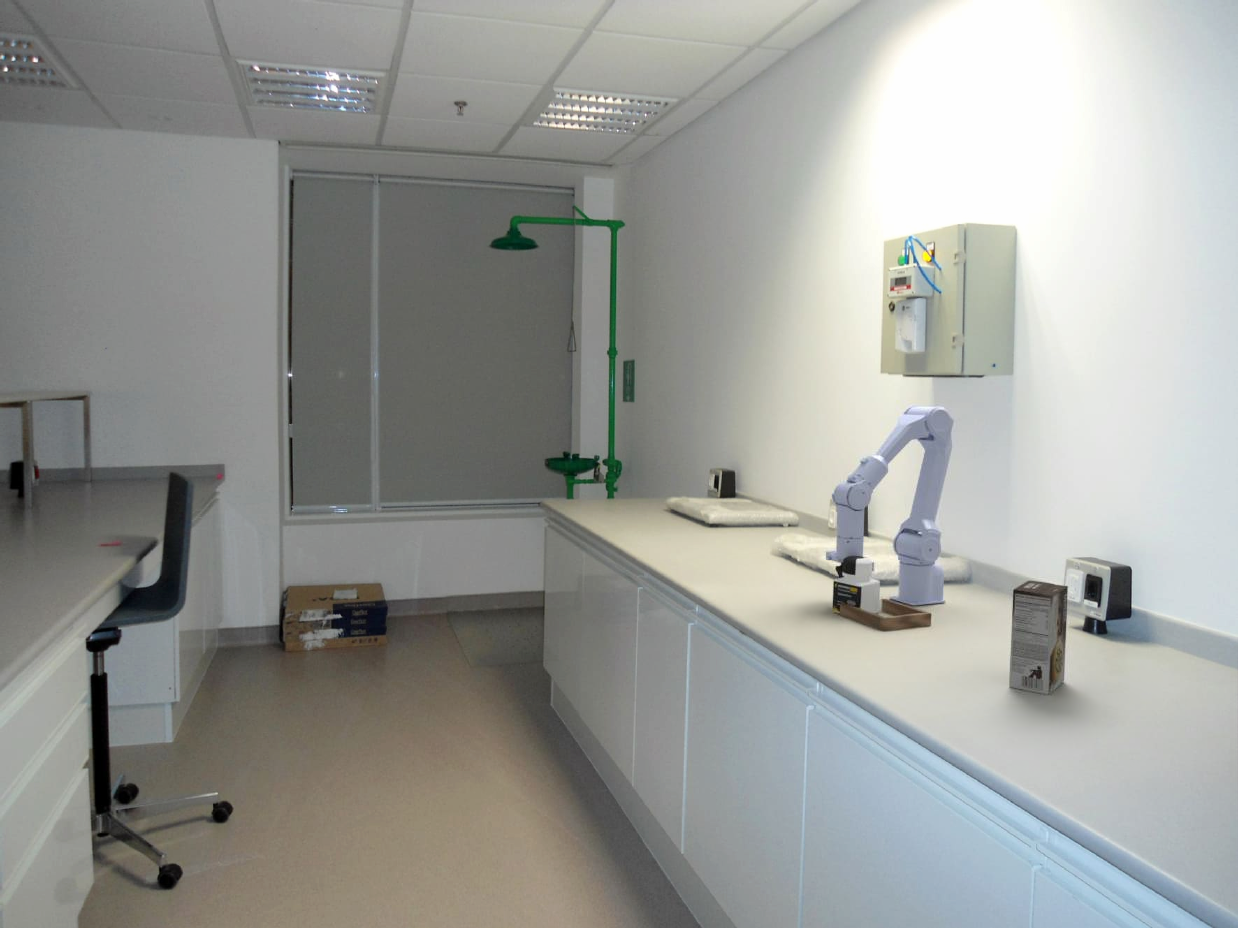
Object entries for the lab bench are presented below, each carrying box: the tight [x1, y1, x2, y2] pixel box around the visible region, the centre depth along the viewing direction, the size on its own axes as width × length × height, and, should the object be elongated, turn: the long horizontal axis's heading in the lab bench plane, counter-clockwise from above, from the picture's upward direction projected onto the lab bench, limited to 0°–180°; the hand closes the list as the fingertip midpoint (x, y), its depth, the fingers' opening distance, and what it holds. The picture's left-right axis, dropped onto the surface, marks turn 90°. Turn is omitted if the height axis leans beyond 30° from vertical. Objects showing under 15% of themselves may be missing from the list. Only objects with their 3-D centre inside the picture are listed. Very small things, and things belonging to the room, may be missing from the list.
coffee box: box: [1008, 580, 1069, 696], centre depth 150 cm, size 9×6×16 cm
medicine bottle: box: [831, 556, 881, 614], centre depth 198 cm, size 7×7×12 cm
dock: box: [839, 598, 932, 632], centre depth 192 cm, size 12×14×2 cm
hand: (848, 597), depth 204 cm, fingers closed, pressing on medicine bottle
